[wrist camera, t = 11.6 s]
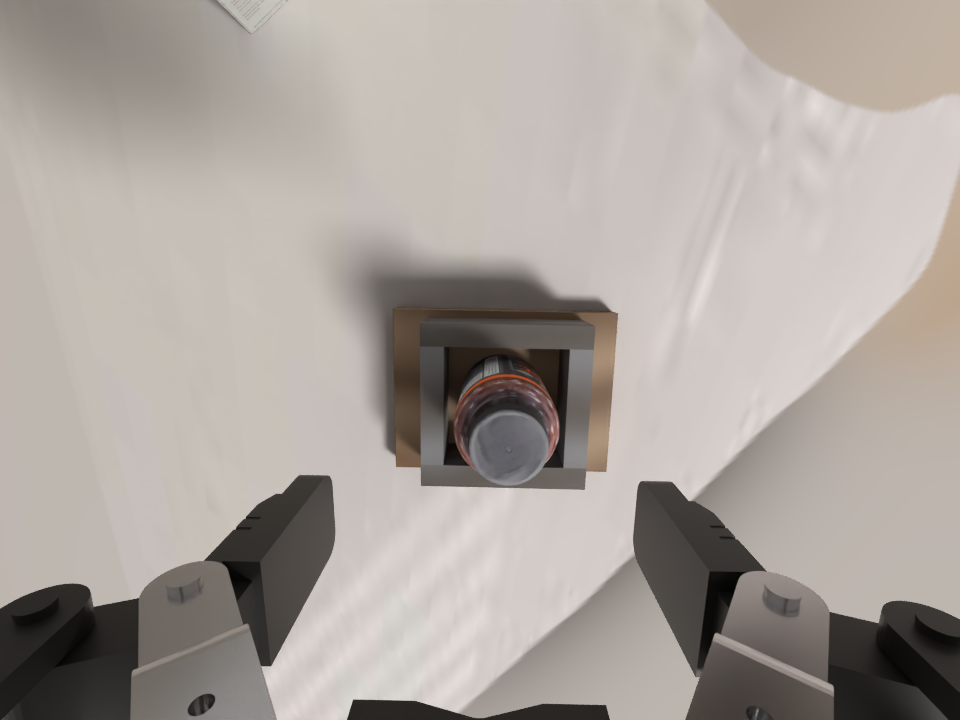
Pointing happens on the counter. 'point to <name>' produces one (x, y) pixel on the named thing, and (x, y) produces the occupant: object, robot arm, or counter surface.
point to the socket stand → (522, 333)
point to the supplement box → (251, 11)
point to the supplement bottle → (505, 420)
